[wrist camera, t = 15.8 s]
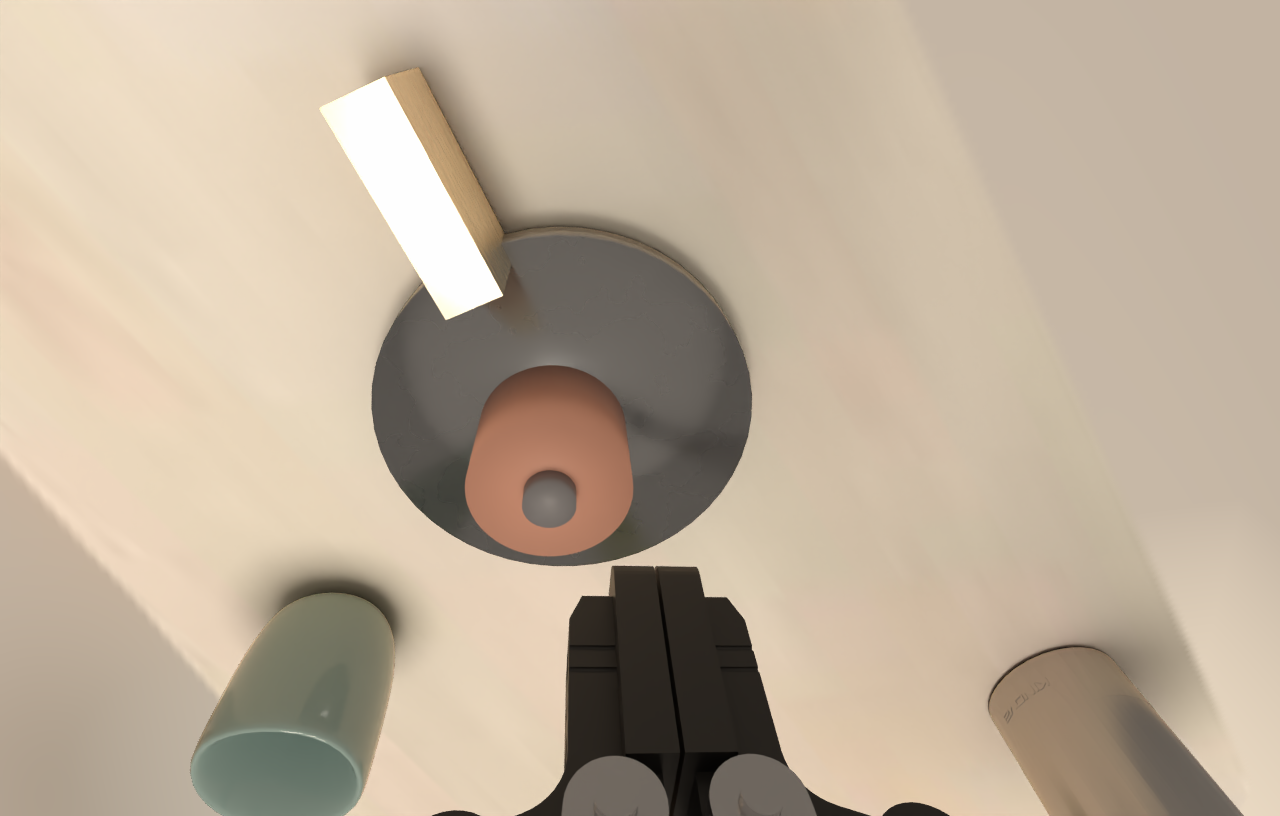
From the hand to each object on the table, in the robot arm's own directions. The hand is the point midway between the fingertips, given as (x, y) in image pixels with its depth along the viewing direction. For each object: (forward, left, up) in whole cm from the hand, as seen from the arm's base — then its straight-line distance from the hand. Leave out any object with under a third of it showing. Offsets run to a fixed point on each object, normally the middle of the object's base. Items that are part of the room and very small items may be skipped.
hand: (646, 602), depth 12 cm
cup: (+4, +27, -22) cm, 35 cm away
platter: (+1, +6, -21) cm, 22 cm away
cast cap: (-1, +8, -20) cm, 22 cm away
